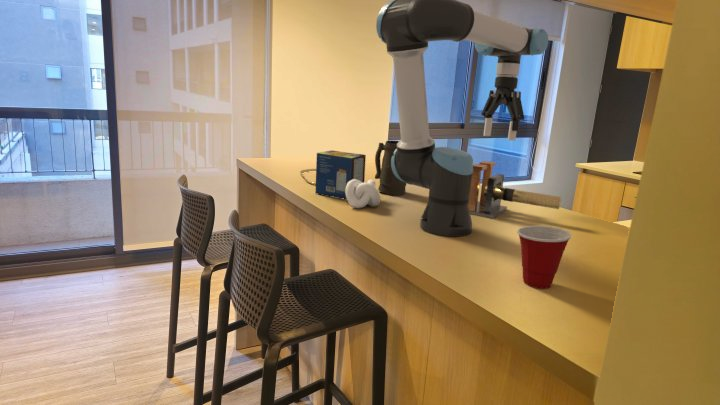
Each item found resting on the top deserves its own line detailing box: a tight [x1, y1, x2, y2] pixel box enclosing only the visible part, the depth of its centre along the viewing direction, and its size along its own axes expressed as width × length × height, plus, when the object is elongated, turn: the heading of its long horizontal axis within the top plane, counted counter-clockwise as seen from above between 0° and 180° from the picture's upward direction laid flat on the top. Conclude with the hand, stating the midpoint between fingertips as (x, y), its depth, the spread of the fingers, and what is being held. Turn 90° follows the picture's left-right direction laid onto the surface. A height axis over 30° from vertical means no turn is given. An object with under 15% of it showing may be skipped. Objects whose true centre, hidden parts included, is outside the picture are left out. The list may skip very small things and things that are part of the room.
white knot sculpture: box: [345, 178, 381, 209], centre depth 157 cm, size 11×12×9 cm
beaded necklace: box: [299, 168, 316, 186], centre depth 201 cm, size 19×35×2 cm, turn 16°
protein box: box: [315, 150, 367, 200], centre depth 171 cm, size 10×15×16 cm
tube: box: [484, 185, 562, 210], centre depth 153 cm, size 4×24×4 cm, turn 58°
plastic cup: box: [516, 225, 572, 290], centre depth 99 cm, size 11×11×12 cm
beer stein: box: [374, 140, 407, 196], centre depth 180 cm, size 15×11×20 cm
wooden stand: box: [469, 160, 508, 219], centre depth 160 cm, size 16×18×16 cm
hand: (498, 138), depth 165 cm, fingers open, 13 cm apart
